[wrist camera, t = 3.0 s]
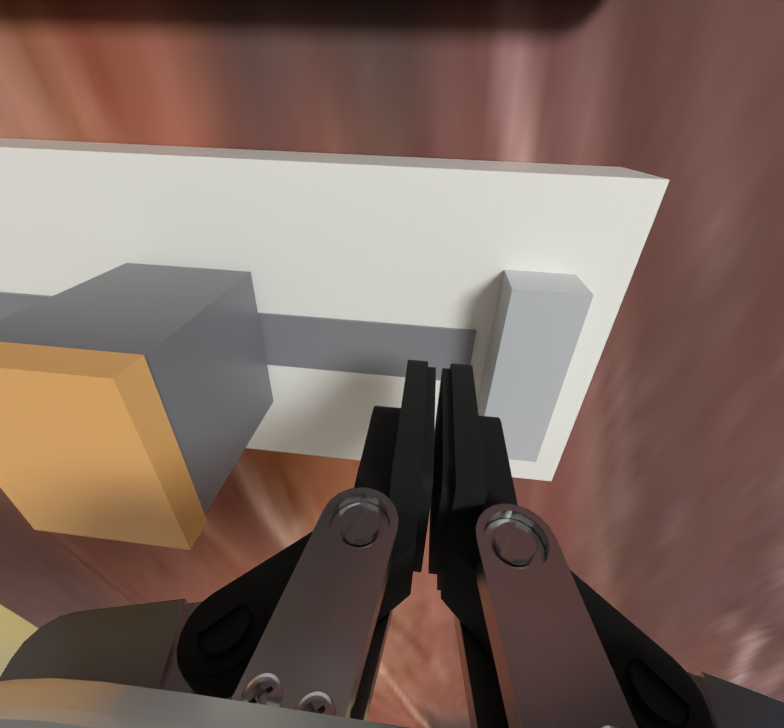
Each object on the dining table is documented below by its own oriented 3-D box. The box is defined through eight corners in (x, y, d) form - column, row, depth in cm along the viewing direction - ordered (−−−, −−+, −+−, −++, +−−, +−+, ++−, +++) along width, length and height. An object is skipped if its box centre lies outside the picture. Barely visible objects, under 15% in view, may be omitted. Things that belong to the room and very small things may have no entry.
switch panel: (-125, 132, 14) (-339, 136, 10) (620, 166, 12) (705, 189, 8) (25, 379, 20) (-73, 440, 16) (535, 430, 18) (561, 513, 14)
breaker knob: (122, 259, 12) (-104, 357, 7) (253, 268, 11) (113, 378, 7) (170, 393, 15) (34, 529, 10) (276, 403, 14) (190, 550, 9)
